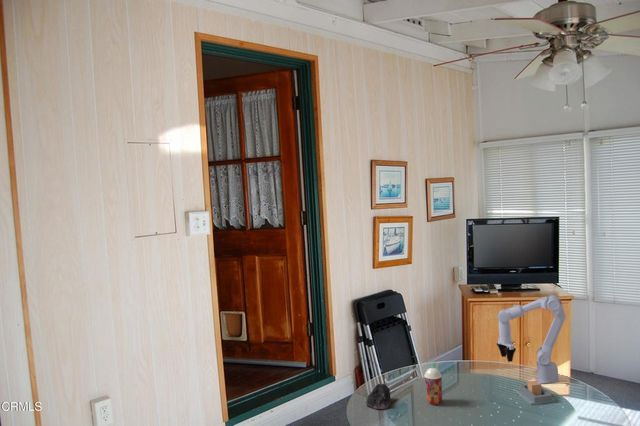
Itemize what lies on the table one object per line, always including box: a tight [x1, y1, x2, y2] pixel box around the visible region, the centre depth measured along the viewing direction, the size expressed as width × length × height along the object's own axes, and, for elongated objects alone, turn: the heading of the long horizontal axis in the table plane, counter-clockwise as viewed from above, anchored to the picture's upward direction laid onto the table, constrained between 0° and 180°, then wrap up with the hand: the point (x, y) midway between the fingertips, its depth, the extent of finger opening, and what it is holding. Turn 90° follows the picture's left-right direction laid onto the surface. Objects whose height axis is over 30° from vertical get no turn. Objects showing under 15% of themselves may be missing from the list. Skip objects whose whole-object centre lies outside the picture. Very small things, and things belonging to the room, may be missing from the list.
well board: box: [515, 383, 557, 406], centre depth 248 cm, size 12×15×3 cm
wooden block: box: [526, 380, 542, 396], centre depth 248 cm, size 4×4×6 cm
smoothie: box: [423, 362, 443, 406], centre depth 251 cm, size 8×8×20 cm
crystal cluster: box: [365, 383, 392, 410], centre depth 255 cm, size 13×14×10 cm
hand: (506, 358), depth 272 cm, fingers open, 7 cm apart
